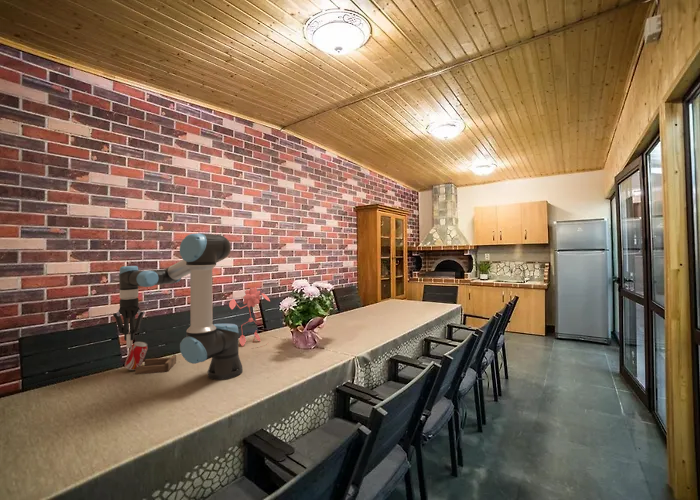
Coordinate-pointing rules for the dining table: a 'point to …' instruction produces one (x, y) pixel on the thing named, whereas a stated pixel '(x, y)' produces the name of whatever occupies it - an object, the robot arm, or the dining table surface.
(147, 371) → the u rest
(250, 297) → the pink flower figure
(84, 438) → the dining table surface
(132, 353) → the soda can
